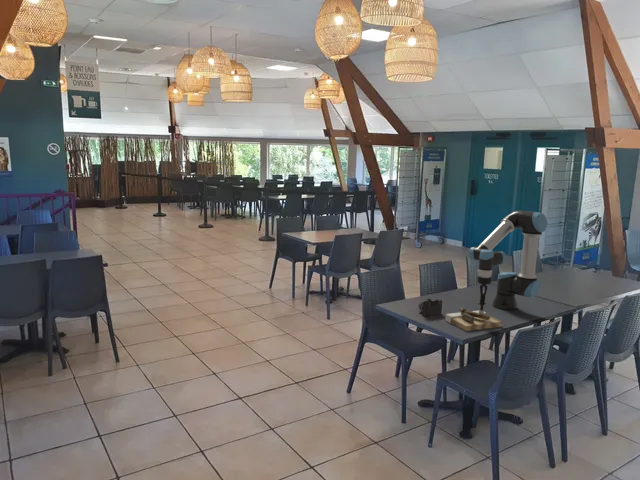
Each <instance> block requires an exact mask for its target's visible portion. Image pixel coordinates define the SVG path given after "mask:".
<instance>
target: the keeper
mask: <svg viewBox="0 0 640 480" xmlns="http://www.w3.org/2000/svg"><path fill="white" fill-rule="evenodd" d="M462 319H463V320H465V321H467V322H469V323H474V317H473V316H471V315H469V314H467V313H463V315H462Z"/></svg>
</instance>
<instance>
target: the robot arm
mask: <svg viewBox="0 0 640 480" xmlns="http://www.w3.org/2000/svg"><path fill="white" fill-rule="evenodd" d="M547 227H548V219H547V217H546V215H544V213H542V212H538V211H532V210H531V211H530V210H529V211H528V210H515V211H513V212H511V213H509V214H507V215H506V216H505V217H504V218H503V219H501V220H500V224H499V225H497V226H496V228H495V229H494V230H493V231H492V232H490V234H489V235H488V236H487V237H486V238H485V239H484V240H483V241H482V242H481V243H480V244H478V246H477V247H476V246H473V247H470V248H469V249H468V258H469V259H471V260H473V261H477V262H479V263H478V270H477V271H476V272H477V275H478V276H477V283H478V284H480V286H479V294H480V298H479V302H478V305H479V308H478V310H479V313H480V314H484V312H485V305H486V304H487V303H486V302H485V301H486V295H487V290H488V285H490V284H491V283H492V274H493V266H497V265H498V266H499V265H503V264H505V263H506V262H507V258H508V256H507V253H505V252H504V251H502V250H501V251H500V250H499V251H494V250H493V249H494V248H495V247H496V246H497V245H499V243H500V242H501V241H502V240H503V239H504V238H506V236H508V234H509V233H511V232H513V231H515V230H516V229H519V230H521V234H522V235H523V243H522V251H521V253H522V254H521V263H520V271H519V273H517V272H515V271H514V272H513V271H503V272H499V273H498V275H497V276H498V277H497V281H496V282H497V284H496V285H497V286H496V294H495V297H494V300H492V307H494V308H496V309H500V310H507V311H513V310H516V309H517V307H518V304H517V299H516V295H517V296H521V297H524V298H529V299H532V298H534V297H536V296H537V295H538V294H539V292H540V288H541V283H540V281H539V280H538V277H537V274H536V266H537V257H538V250H539V249H538V247H539V238H540V237H541V236H542V235H543V233H544V232H545V231H546V229H547Z"/></svg>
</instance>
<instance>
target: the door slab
mask: <svg viewBox="0 0 640 480" xmlns="http://www.w3.org/2000/svg"><path fill="white" fill-rule="evenodd" d="M485 315H488V314H487V313H486V314H485ZM489 316H490V319H489V320H484V319H480V318H476V317H474V323H469V322H467V321H465V320H463V319H462V317H458V318H451V323H450V324H452V325H453V326H456V327H458V328H459V329H461V330H463V331H465V332H470V331H477V330H478V331H479V330H484V329H492V328H500V327H503V320H500V319H498V318H496V317H493V316H491V315H489Z"/></svg>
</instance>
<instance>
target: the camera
mask: <svg viewBox="0 0 640 480" xmlns="http://www.w3.org/2000/svg"><path fill="white" fill-rule="evenodd" d="M418 309H419V310H420V311H421V315H422V316H423V317H433V316H437V315H441V314H442V310H443V300H442V298H441V299H440V298H436V299H432V298H427V299H425V300H423V301H421V302H419V304H418Z"/></svg>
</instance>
